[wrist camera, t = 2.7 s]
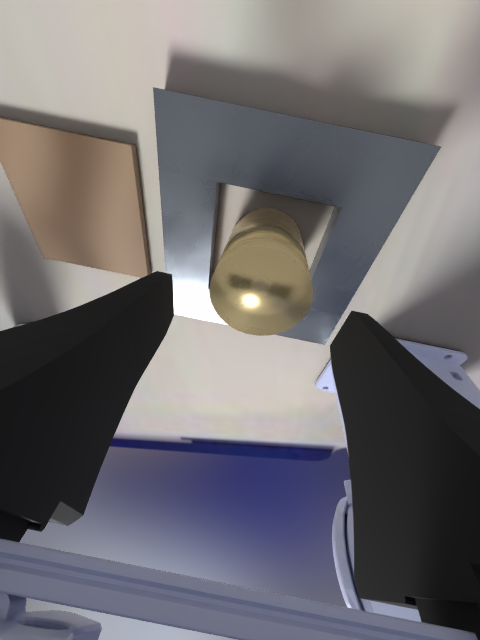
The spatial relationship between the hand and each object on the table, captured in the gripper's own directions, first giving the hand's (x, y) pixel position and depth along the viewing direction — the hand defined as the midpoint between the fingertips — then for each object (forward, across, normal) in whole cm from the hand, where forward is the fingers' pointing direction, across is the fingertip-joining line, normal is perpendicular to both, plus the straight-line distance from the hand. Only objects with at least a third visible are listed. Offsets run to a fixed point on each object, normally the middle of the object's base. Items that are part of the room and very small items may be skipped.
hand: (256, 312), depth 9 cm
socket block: (+7, 0, 0) cm, 7 cm away
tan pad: (+7, +12, 0) cm, 14 cm away
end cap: (+7, 0, 0) cm, 7 cm away
